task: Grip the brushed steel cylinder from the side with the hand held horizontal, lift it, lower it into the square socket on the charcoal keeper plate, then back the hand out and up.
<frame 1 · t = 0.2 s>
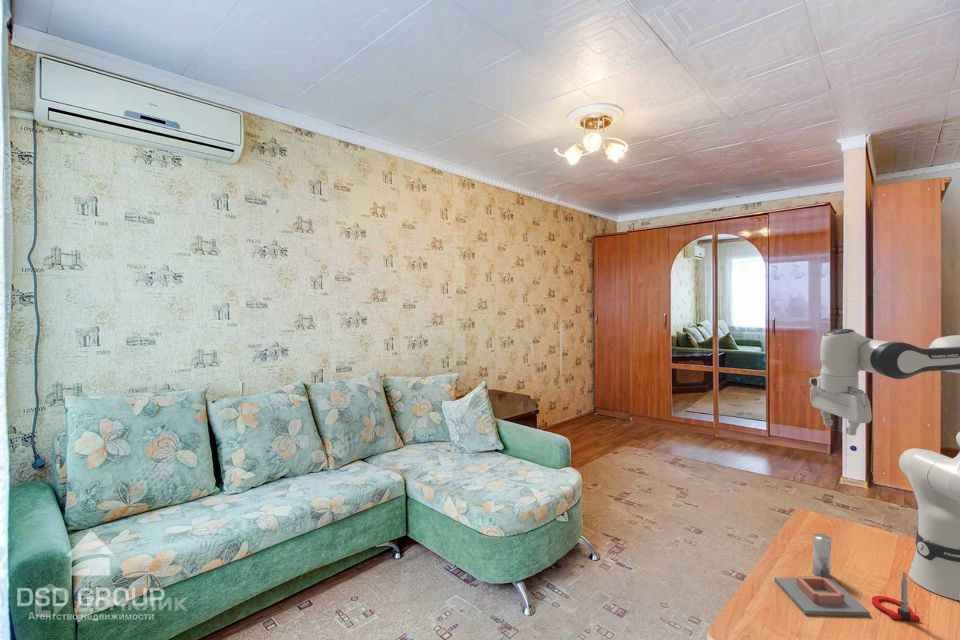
hand: (839, 429, 132), 48 cm above the table, tool pointing down, fingers open, 8 cm apart
keeper: (819, 597, 128), on the table
tow hook: (892, 610, 123), on the table
brushed steel cylinder: (821, 574, 139), on the table
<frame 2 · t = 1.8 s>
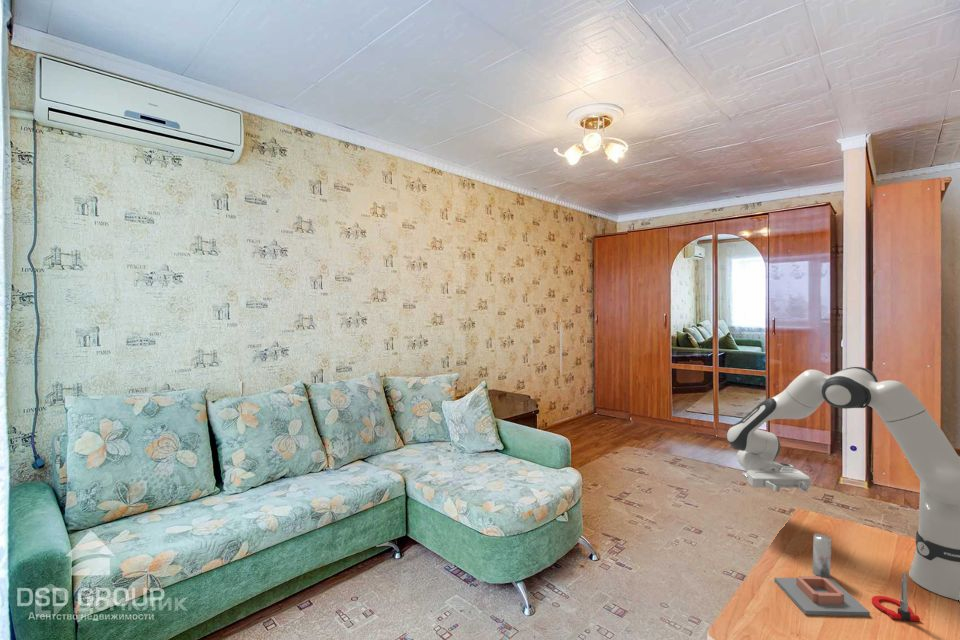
hand: (791, 489, 152), 20 cm above the table, tool horizontal, fingers open, 8 cm apart
nothing on the table moved.
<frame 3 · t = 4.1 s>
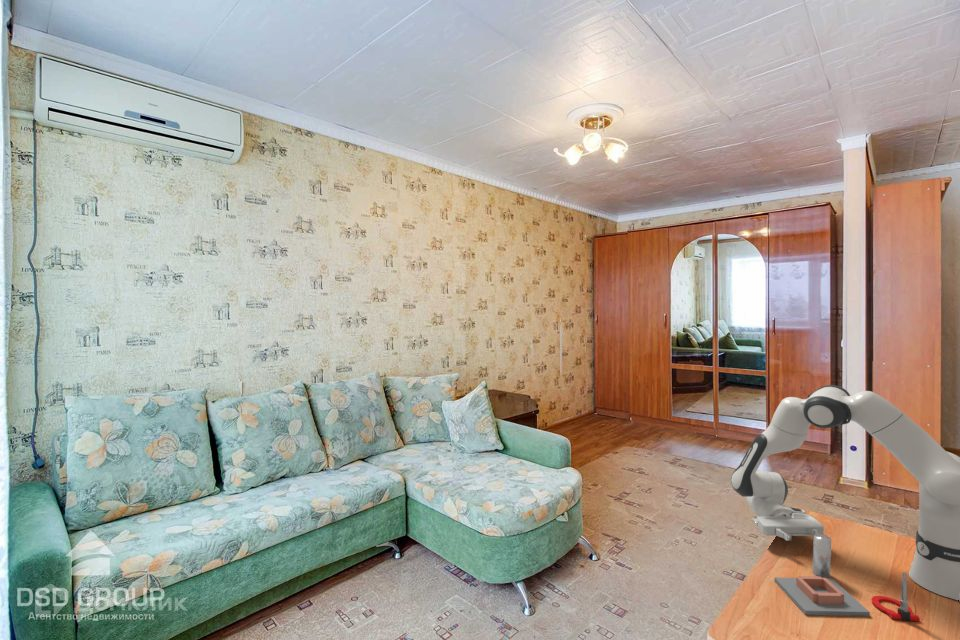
hand: (804, 538, 147), 6 cm above the table, tool horizontal, fingers open, 8 cm apart
nothing on the table moved.
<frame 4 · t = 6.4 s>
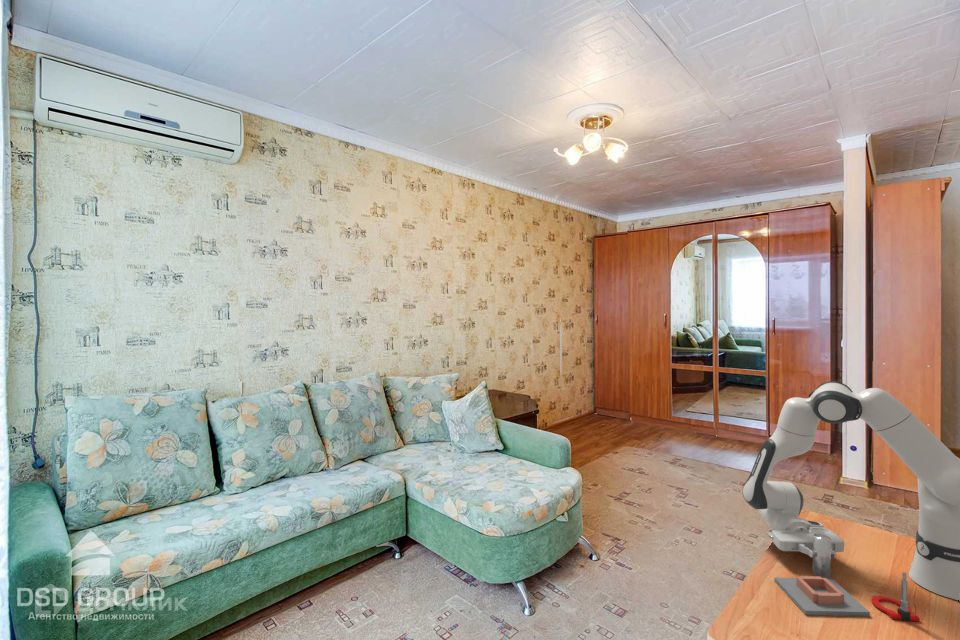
hand: (823, 555, 137), 7 cm above the table, tool horizontal, fingers closed on brushed steel cylinder, 4 cm apart
brushed steel cylinder: (821, 574, 139), on the table, touching gripper
everything else where it was.
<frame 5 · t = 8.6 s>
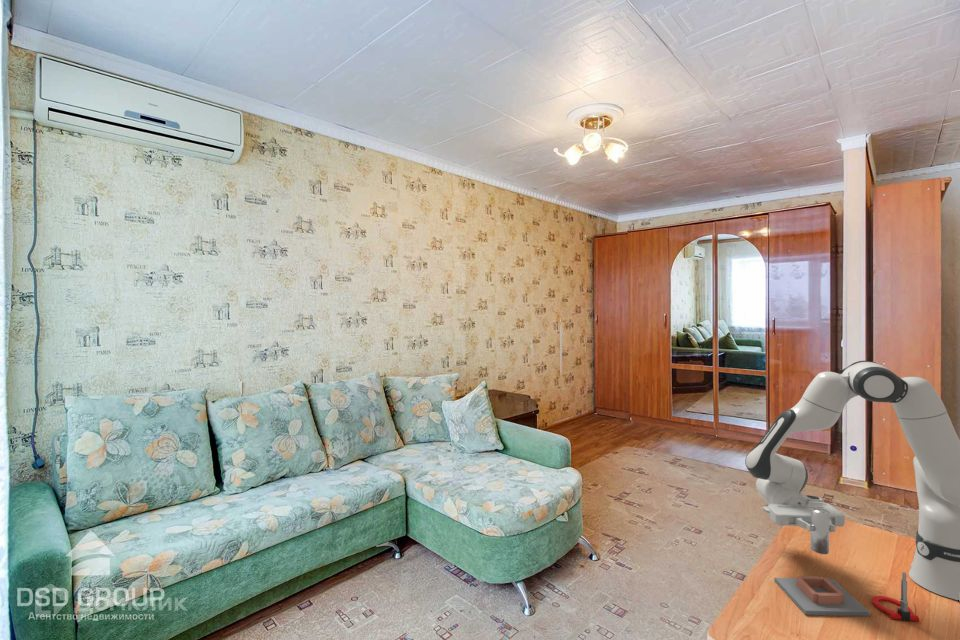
hand: (822, 529, 130), 19 cm above the table, tool horizontal, fingers closed on brushed steel cylinder, 4 cm apart
brushed steel cylinder: (819, 549, 131), point 12 cm above the table, touching gripper
everything else where it was.
when the fingers open (9 cm above the table, at t = 11.1 s): brushed steel cylinder stays where it is, resting on keeper.
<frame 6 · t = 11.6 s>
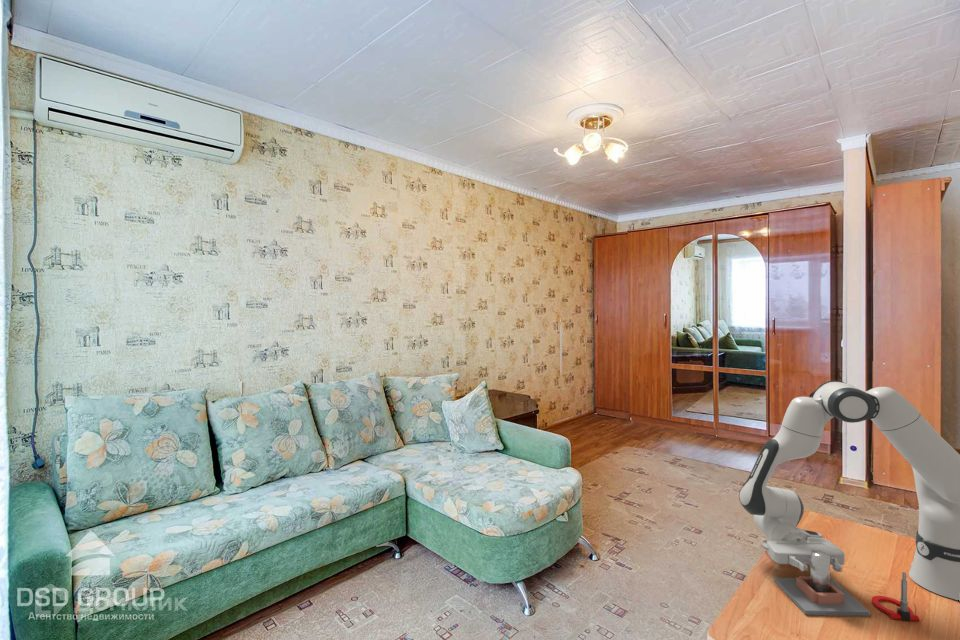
hand: (822, 569, 127), 9 cm above the table, tool horizontal, fingers open, 8 cm apart
brushed steel cylinder: (819, 593, 128), point 1 cm above the table, touching keeper
everything else where it was.
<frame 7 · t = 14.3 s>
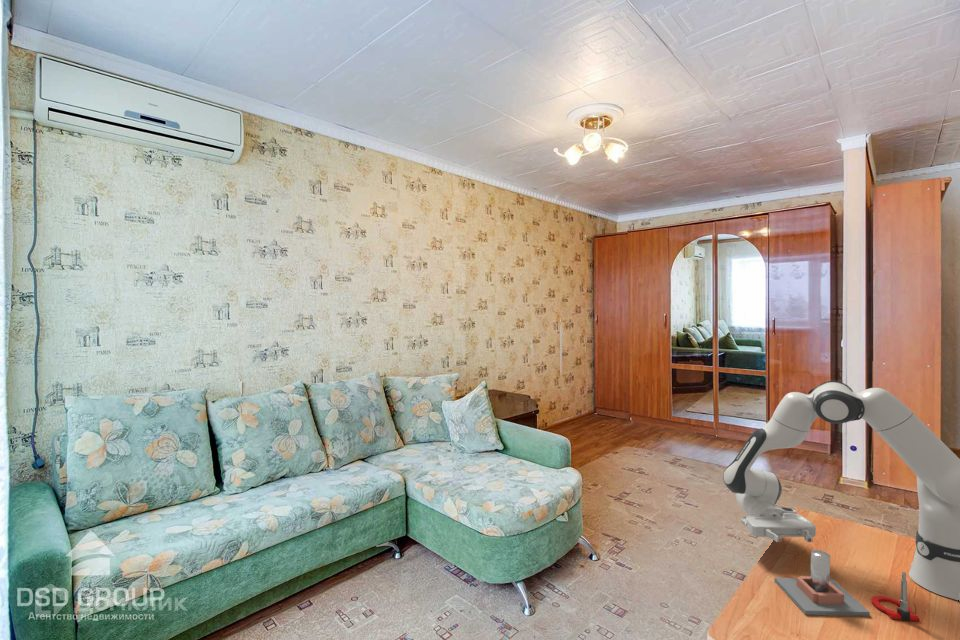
hand: (794, 540, 140), 10 cm above the table, tool horizontal, fingers open, 8 cm apart
nothing on the table moved.
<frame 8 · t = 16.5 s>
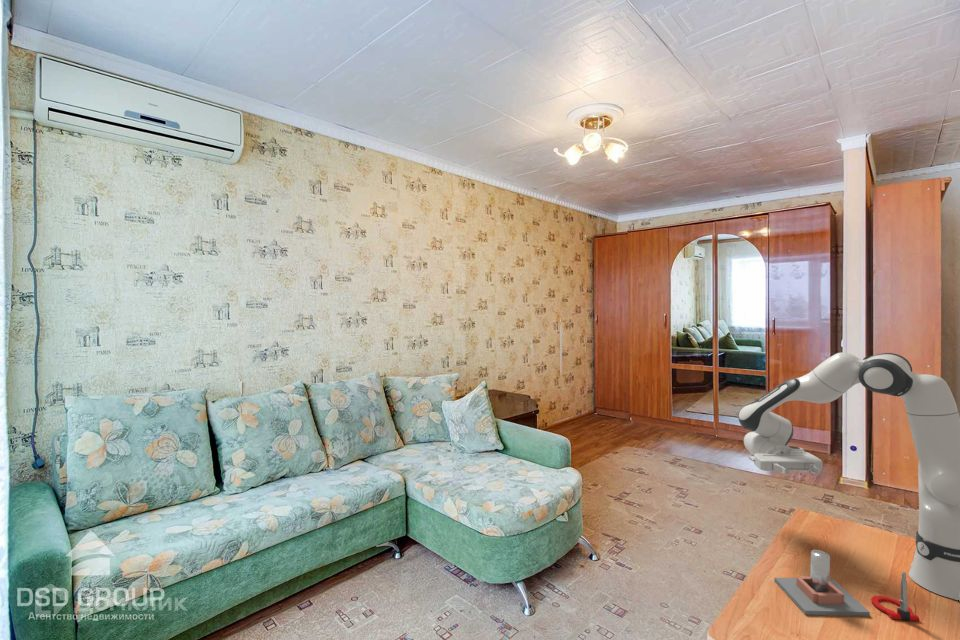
hand: (802, 472, 144), 30 cm above the table, tool horizontal, fingers open, 8 cm apart
nothing on the table moved.
at the end: brushed steel cylinder 0.1 cm off-centre on the keeper, point 1.2 cm above the keeper's base; brushed steel cylinder tilted 0°; the gripper is holding nothing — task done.
